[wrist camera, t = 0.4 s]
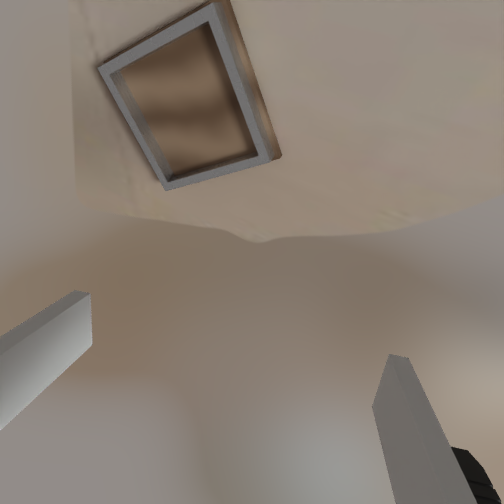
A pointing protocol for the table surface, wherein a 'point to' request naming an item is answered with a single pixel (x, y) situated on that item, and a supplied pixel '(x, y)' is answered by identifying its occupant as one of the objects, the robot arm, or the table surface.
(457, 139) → the table surface
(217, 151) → the walnut plate
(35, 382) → the robot arm
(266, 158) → the grey square frame
